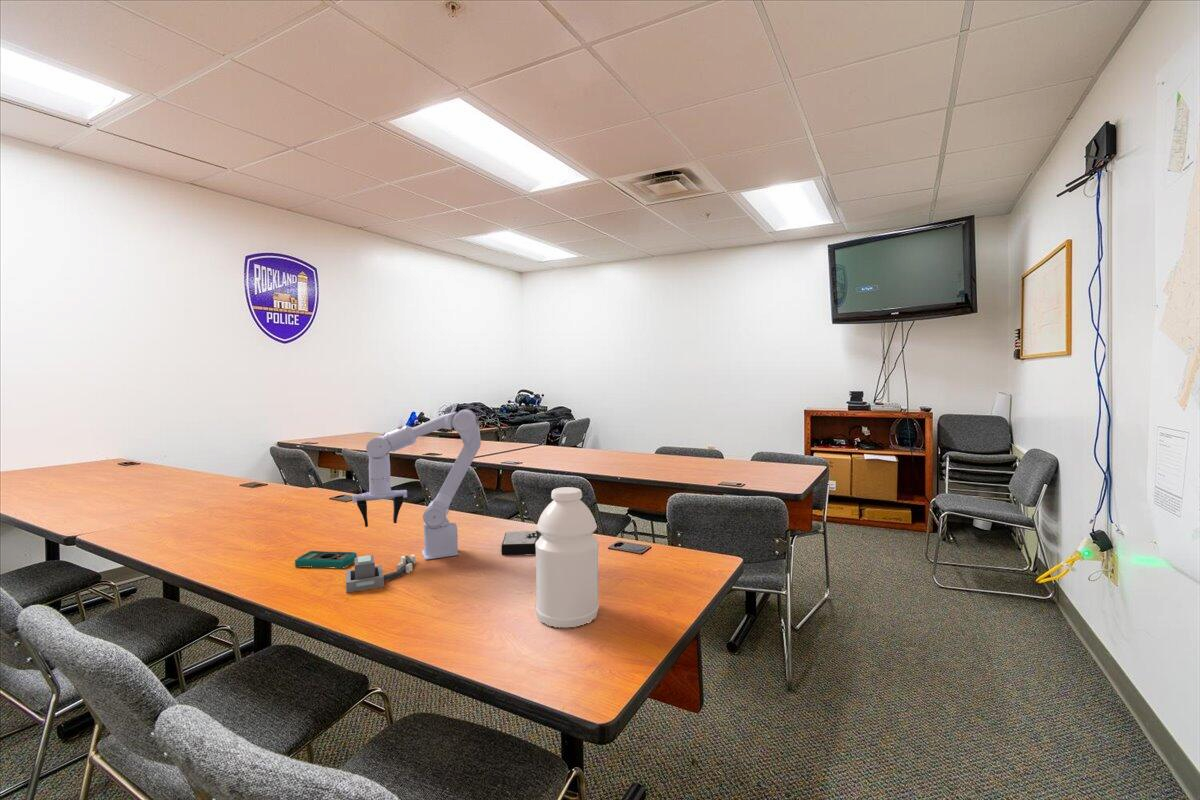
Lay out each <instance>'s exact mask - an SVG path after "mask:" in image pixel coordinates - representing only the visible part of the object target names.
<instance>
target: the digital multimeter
mask: <svg viewBox="0 0 1200 800" xmlns="http://www.w3.org/2000/svg"><path fill="white" fill-rule="evenodd" d="M357 557H358V554H357V552H355V551H327V550H326V551H325V550H324V551H323V550H311V551H308V552H305V553H304V554H302V555H300V556H299V557H297V558H296V559H294V567H295V566H310V567H309V568H322V567H335V568H334V569H344V568H343V567H345V568H347V567H349V566H350V564H351V565H352V564H354V563H355V562H354V561H355V558H357ZM353 562H354V563H353ZM348 565H349V566H348ZM311 566H312V567H311ZM346 566H347V567H346Z"/></svg>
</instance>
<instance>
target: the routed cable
mask: <svg viewBox="0 0 1200 800" xmlns="http://www.w3.org/2000/svg"><path fill="white" fill-rule="evenodd" d="M400 560H401V561H400V562H399V563H398V564H396V570H395V571H394V572H389V573H386V574H383V576H384V582H387V581H390V580H393V579H396V577H397V578H399V577H398V576H400V577H402V576H403V575H404V574H405V573H406V574H410V573H411V572H412V571H413V567H414V564H416V561H417V560H416V555H415V554H414V553H413V554H410V556H409V555H401V556H400ZM413 563H414V564H413ZM405 564H406V565H405ZM410 571H411V572H410ZM402 574H403V575H402ZM401 575H402V576H401Z"/></svg>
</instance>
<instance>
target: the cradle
mask: <svg viewBox="0 0 1200 800" xmlns="http://www.w3.org/2000/svg"><path fill="white" fill-rule="evenodd" d="M383 575H384V570H383V565H382V564H380V565H379V564H378V565H375V577H370V578H364V579H358V580H355V568H354V569H346V570H345V586H346V588H345V590H346V591H345V592H346V593H347V594H348V593H352V592H359V591H365V590H366V591H367V590H371V589H377V588H378V589H379V588H382V587H383V588H384V586H385V581H384V576H383Z"/></svg>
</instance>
